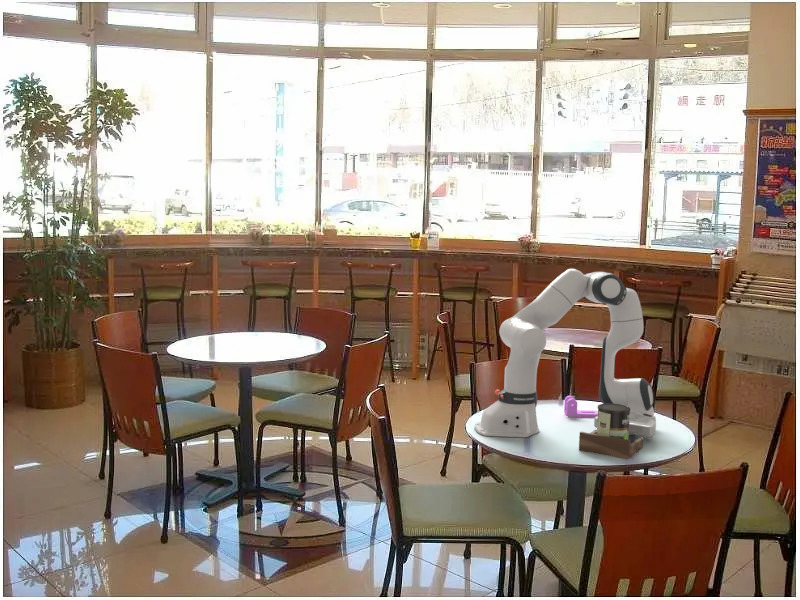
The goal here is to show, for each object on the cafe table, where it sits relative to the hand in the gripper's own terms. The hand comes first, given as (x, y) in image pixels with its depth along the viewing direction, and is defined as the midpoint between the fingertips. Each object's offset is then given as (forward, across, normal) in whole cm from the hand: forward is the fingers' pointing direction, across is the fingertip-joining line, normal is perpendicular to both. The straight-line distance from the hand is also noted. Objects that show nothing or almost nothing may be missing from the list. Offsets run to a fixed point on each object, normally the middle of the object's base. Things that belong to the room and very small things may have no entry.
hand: (617, 430), depth 276 cm
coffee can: (+5, 0, +5) cm, 7 cm away
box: (+5, 0, +5) cm, 7 cm away
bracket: (-30, -23, +5) cm, 38 cm away
